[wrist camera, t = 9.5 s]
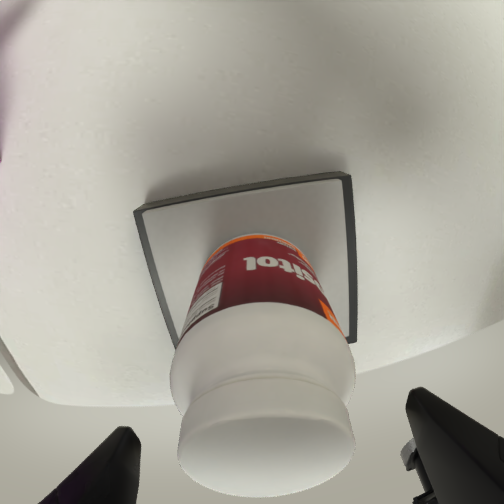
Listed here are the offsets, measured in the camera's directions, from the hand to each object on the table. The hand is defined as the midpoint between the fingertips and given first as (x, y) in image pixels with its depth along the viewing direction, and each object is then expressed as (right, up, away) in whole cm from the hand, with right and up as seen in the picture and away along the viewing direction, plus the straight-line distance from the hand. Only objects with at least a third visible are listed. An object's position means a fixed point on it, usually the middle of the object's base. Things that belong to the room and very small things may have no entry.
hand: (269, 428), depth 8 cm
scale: (0, +4, +11) cm, 12 cm away
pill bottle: (0, +4, +9) cm, 10 cm away
